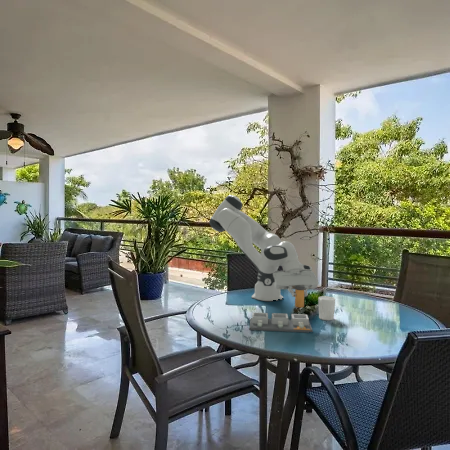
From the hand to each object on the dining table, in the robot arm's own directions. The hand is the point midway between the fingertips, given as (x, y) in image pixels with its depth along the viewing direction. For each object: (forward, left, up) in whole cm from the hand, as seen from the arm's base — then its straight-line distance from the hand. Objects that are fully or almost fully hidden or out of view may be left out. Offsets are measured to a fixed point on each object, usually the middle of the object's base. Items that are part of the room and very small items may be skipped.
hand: (300, 295), depth 162 cm
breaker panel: (+2, -9, -14) cm, 16 cm away
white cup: (-13, +14, -14) cm, 24 cm away
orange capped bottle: (-1, 0, -5) cm, 5 cm away
